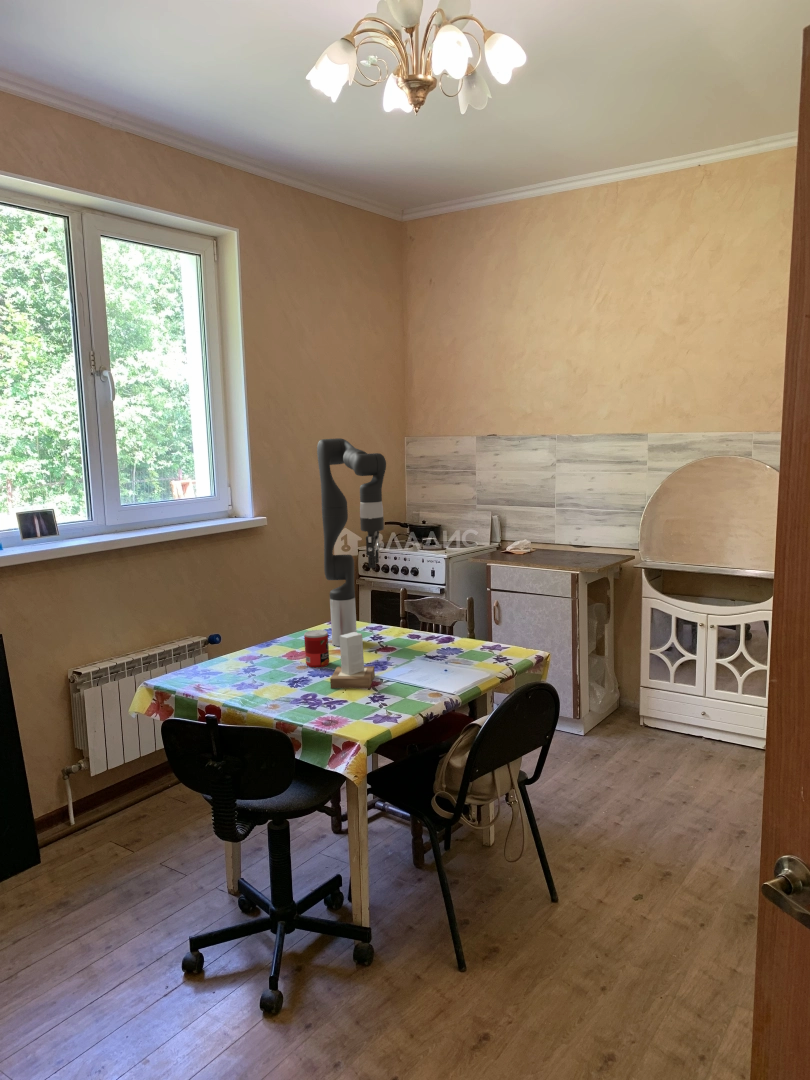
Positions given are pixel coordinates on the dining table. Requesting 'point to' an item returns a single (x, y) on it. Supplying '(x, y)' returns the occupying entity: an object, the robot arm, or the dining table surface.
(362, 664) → the skincare box
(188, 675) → the dining table surface
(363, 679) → the base slab
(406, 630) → the dining table surface
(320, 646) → the canned food
